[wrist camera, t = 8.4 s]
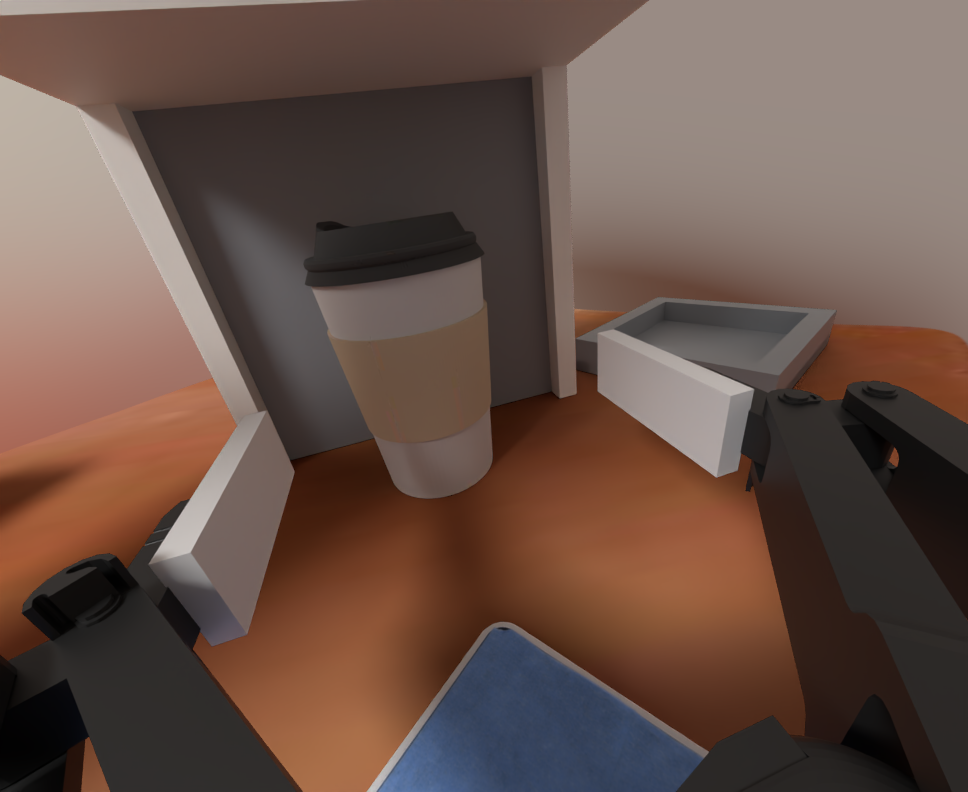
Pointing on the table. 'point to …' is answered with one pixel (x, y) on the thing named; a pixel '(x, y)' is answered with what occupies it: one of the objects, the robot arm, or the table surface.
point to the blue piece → (534, 729)
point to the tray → (724, 338)
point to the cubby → (327, 165)
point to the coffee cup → (412, 343)
